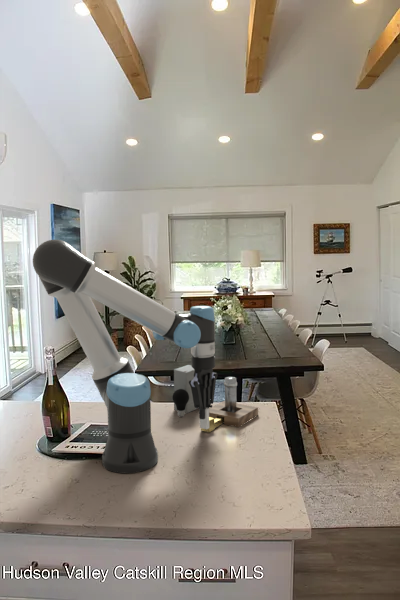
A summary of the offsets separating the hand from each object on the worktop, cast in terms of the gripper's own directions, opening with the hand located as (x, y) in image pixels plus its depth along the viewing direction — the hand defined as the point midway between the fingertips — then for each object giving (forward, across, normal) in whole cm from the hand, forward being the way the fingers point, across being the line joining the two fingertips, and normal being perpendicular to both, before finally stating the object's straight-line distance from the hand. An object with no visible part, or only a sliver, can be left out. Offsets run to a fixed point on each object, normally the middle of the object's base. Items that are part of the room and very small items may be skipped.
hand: (204, 427), depth 152 cm
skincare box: (+2, +16, +18) cm, 24 cm away
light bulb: (+2, +8, +15) cm, 17 cm away
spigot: (+2, +17, 0) cm, 17 cm away
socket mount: (+2, +17, 0) cm, 17 cm away
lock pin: (+2, +7, 0) cm, 7 cm away
